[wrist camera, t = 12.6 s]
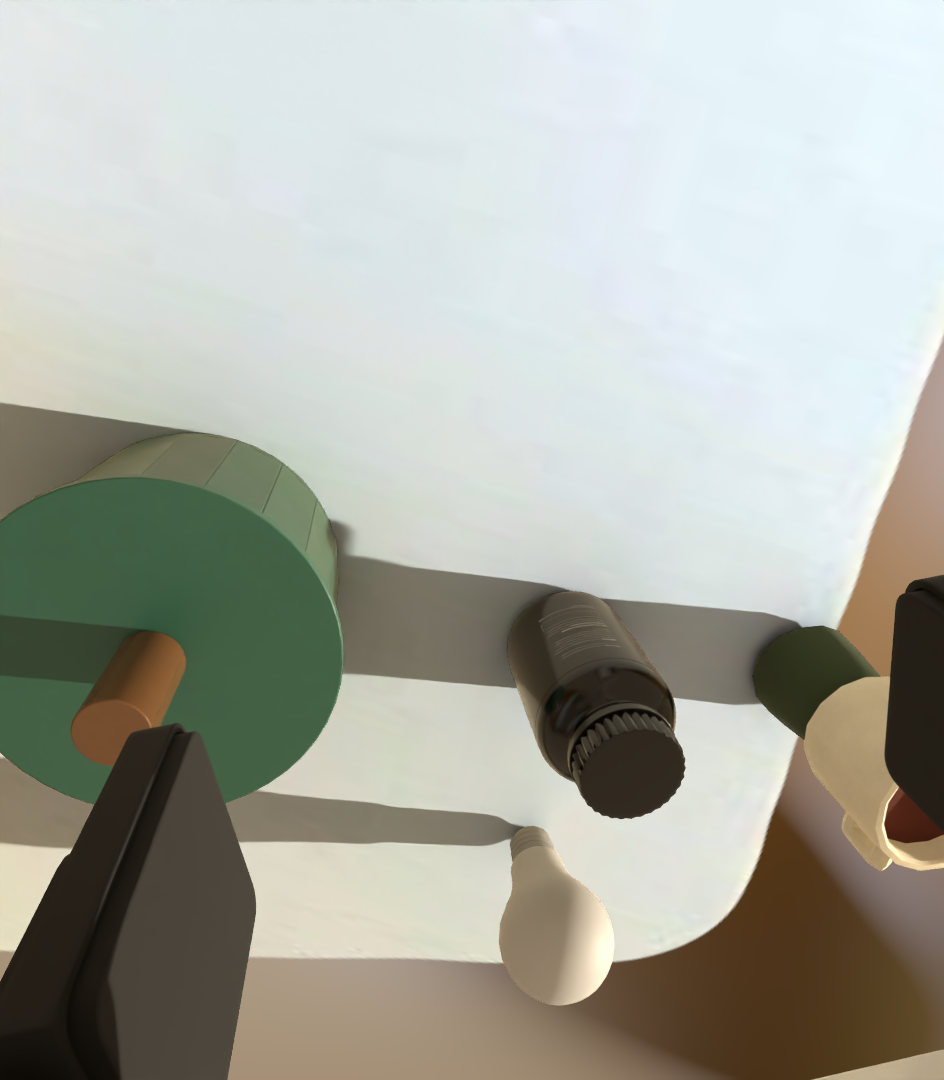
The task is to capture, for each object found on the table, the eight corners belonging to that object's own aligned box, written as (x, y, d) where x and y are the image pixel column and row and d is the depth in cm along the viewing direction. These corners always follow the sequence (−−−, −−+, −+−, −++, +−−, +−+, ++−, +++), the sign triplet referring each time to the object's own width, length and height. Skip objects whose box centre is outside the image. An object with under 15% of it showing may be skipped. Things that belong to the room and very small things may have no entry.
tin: (18, 462, 36) (-96, 528, 27) (304, 408, 37) (284, 454, 28) (114, 701, 41) (44, 822, 32) (364, 648, 42) (363, 752, 33)
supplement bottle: (486, 674, 43) (527, 818, 32) (534, 571, 42) (596, 685, 30) (590, 706, 45) (664, 853, 34) (641, 608, 43) (737, 730, 32)
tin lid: (-108, 511, 28) (-233, 578, 22) (294, 434, 28) (276, 478, 23) (43, 827, 33) (-26, 948, 27) (377, 754, 34) (379, 855, 28)
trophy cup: (819, 746, 48) (970, 907, 36) (717, 736, 47) (838, 900, 35) (880, 591, 45) (1069, 712, 33) (772, 576, 44) (927, 697, 31)
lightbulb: (588, 804, 48) (648, 952, 37) (554, 878, 49) (602, 1040, 39) (498, 785, 46) (535, 934, 36) (466, 862, 48) (492, 1025, 38)
